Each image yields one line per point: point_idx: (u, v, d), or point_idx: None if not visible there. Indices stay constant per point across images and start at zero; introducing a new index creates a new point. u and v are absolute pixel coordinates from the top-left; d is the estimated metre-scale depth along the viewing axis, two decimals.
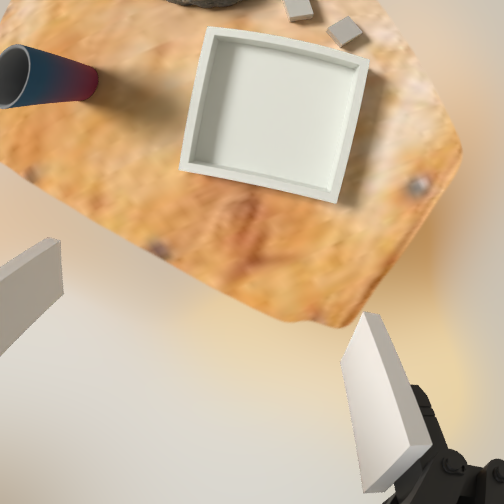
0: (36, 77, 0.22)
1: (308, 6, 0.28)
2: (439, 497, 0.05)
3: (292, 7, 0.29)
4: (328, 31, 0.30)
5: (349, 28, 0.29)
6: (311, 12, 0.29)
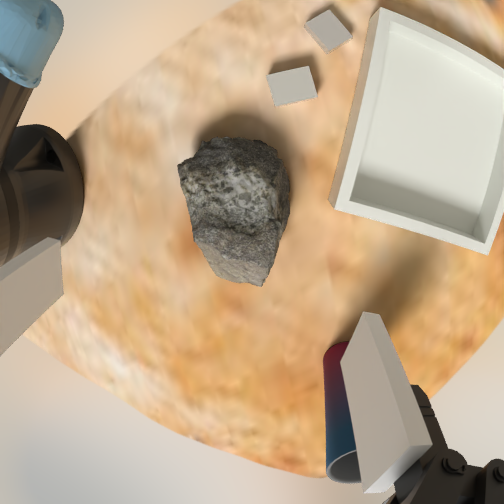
0: None
1: (296, 71, 0.23)
2: (439, 497, 0.05)
3: (300, 92, 0.24)
4: (330, 51, 0.23)
5: (325, 24, 0.21)
6: (306, 68, 0.23)
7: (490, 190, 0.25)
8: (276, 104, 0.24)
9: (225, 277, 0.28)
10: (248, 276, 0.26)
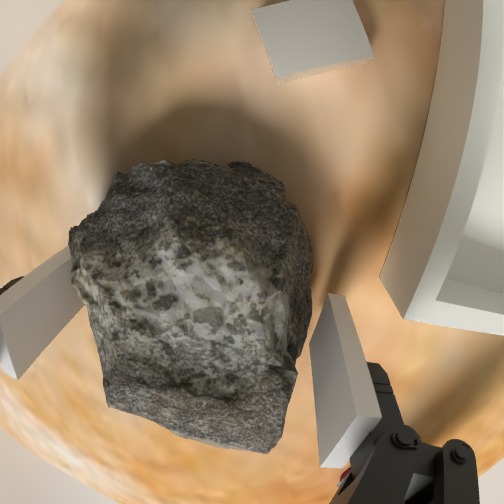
0: None
1: (323, 1, 0.08)
2: (392, 473, 0.05)
3: (335, 45, 0.09)
4: None
5: None
6: None
7: None
8: (279, 72, 0.10)
9: None
10: (230, 447, 0.12)
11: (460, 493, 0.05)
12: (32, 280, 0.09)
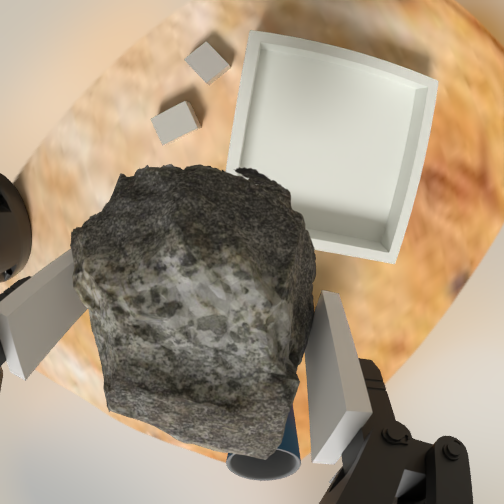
0: None
1: (175, 109, 0.26)
2: (382, 469, 0.06)
3: (182, 127, 0.27)
4: (210, 82, 0.26)
5: (202, 57, 0.24)
6: (183, 103, 0.26)
7: (396, 196, 0.28)
8: (163, 143, 0.27)
9: None
10: (229, 452, 0.12)
11: (453, 490, 0.05)
12: (40, 280, 0.09)
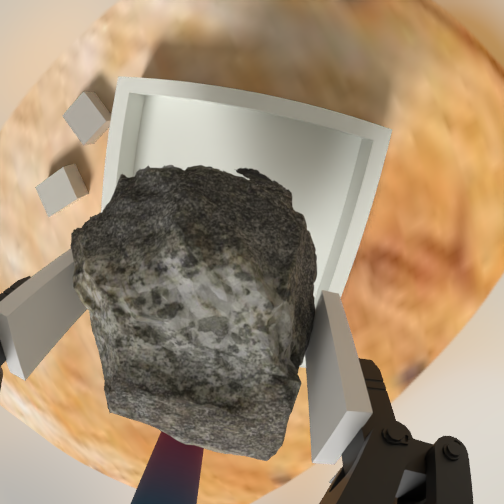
0: None
1: (55, 176, 0.21)
2: (383, 469, 0.06)
3: (63, 198, 0.22)
4: (90, 142, 0.21)
5: (79, 112, 0.19)
6: (62, 170, 0.21)
7: (321, 287, 0.23)
8: (49, 215, 0.22)
9: None
10: (230, 453, 0.11)
11: (453, 490, 0.05)
12: (40, 280, 0.09)
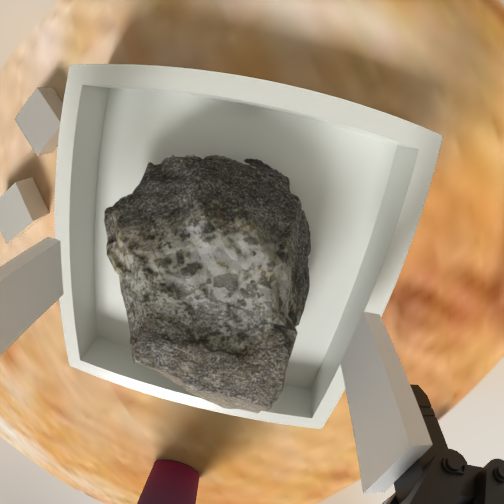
0: None
1: (8, 194, 0.16)
2: (439, 497, 0.05)
3: (18, 220, 0.16)
4: (47, 150, 0.16)
5: (32, 114, 0.14)
6: (14, 186, 0.16)
7: (337, 337, 0.18)
8: (6, 240, 0.17)
9: None
10: (236, 406, 0.14)
11: None
12: None
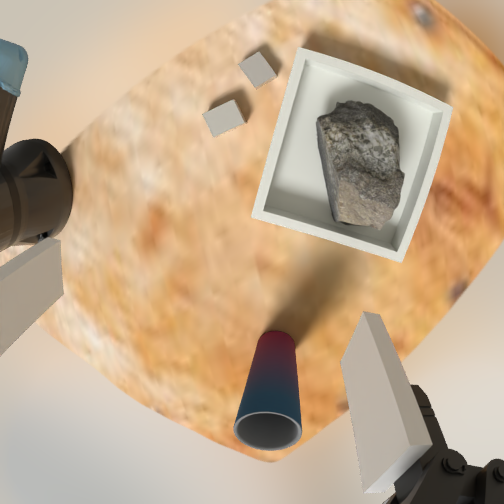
0: (281, 404, 0.28)
1: (225, 106, 0.31)
2: (439, 497, 0.05)
3: (230, 122, 0.31)
4: (257, 87, 0.31)
5: (254, 64, 0.29)
6: (232, 101, 0.31)
7: (407, 204, 0.32)
8: (214, 135, 0.32)
9: (350, 220, 0.30)
10: (374, 218, 0.29)
11: None
12: None
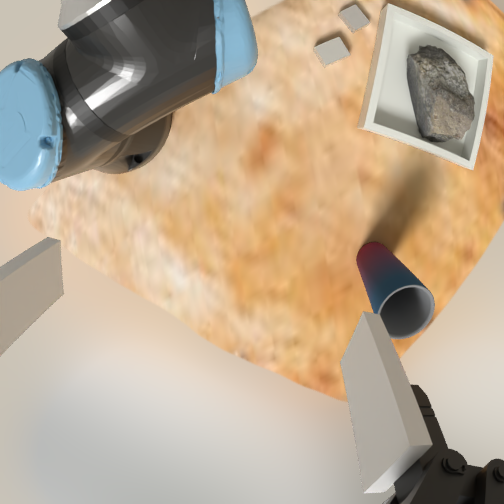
0: (417, 281, 0.31)
1: (333, 41, 0.33)
2: (439, 497, 0.05)
3: (339, 54, 0.33)
4: (355, 30, 0.33)
5: (353, 13, 0.31)
6: (338, 38, 0.33)
7: None
8: (326, 63, 0.34)
9: (441, 130, 0.32)
10: (459, 128, 0.31)
11: None
12: None
